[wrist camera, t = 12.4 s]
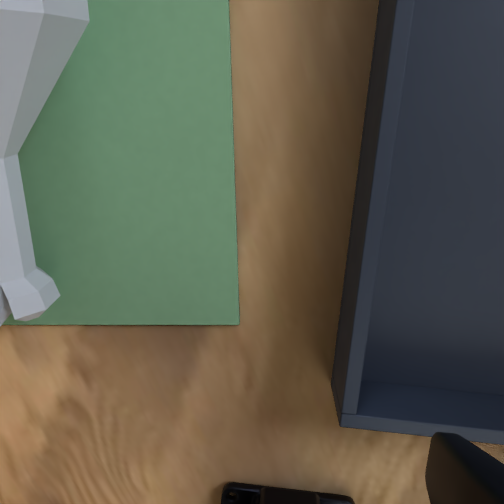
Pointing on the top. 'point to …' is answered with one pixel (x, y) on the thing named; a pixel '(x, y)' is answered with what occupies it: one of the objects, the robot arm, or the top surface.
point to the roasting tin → (428, 229)
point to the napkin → (138, 170)
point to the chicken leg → (17, 129)
